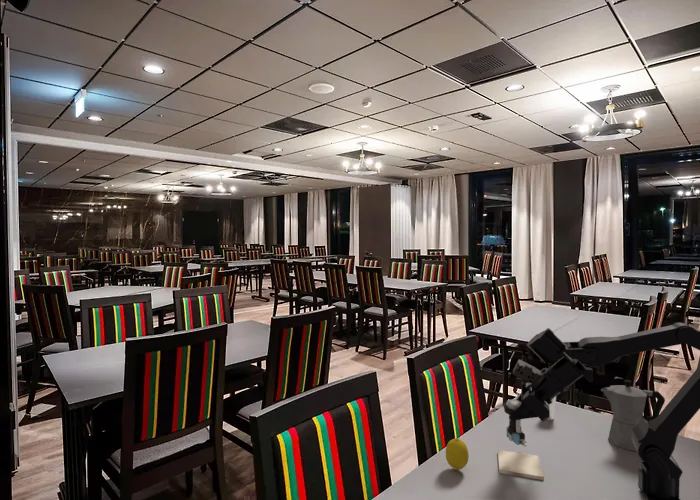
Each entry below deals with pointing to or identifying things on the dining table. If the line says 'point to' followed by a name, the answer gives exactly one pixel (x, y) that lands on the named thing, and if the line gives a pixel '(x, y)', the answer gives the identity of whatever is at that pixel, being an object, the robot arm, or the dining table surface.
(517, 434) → the push button
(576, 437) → the dining table surface
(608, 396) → the coffeepot
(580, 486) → the dining table surface
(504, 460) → the birch pad
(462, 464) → the lemon
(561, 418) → the dining table surface
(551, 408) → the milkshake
